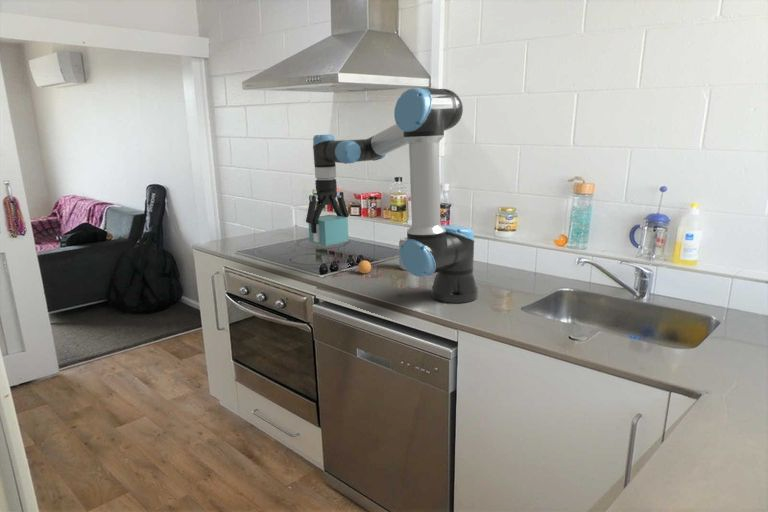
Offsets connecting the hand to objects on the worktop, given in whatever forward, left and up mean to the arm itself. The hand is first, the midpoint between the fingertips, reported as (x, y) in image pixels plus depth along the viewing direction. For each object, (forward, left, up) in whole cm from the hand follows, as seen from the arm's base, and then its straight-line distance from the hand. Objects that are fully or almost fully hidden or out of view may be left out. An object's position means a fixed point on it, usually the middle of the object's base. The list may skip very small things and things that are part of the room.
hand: (328, 239), depth 192 cm
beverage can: (-14, -27, -14) cm, 34 cm away
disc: (+5, -11, -14) cm, 19 cm away
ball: (-7, -11, -12) cm, 17 cm away
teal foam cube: (0, 0, -1) cm, 1 cm away
